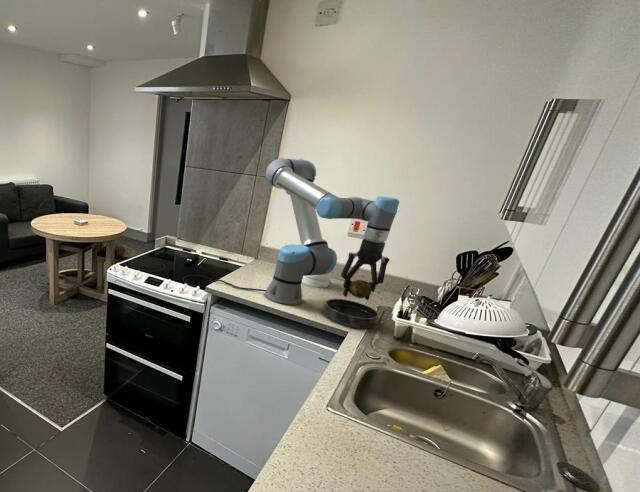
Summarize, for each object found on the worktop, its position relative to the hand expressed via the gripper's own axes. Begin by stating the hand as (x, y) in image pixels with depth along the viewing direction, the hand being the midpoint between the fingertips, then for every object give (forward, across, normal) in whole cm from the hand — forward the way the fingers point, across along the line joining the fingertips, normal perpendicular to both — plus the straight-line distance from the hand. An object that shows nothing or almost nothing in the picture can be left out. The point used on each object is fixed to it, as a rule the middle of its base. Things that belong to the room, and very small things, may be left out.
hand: (355, 296), depth 154 cm
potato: (0, 0, 0) cm, 1 cm away
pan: (+9, 0, 0) cm, 9 cm away
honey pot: (+9, -5, +42) cm, 43 cm away
